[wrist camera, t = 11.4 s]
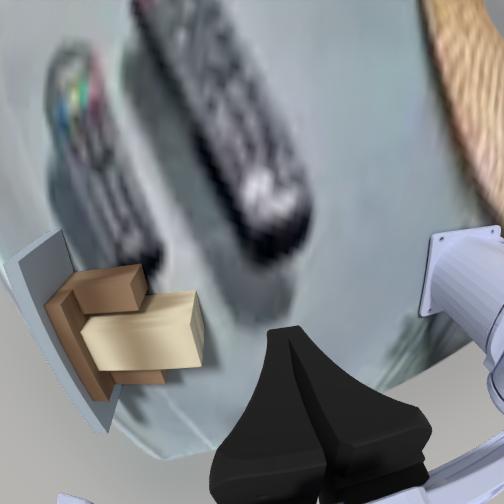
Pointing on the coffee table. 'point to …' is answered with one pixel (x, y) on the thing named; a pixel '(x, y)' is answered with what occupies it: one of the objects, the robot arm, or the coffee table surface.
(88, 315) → the brown u-shaped bracket
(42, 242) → the backstop wall
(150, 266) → the coffee table surface
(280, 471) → the robot arm
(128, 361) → the cream wooden bar
